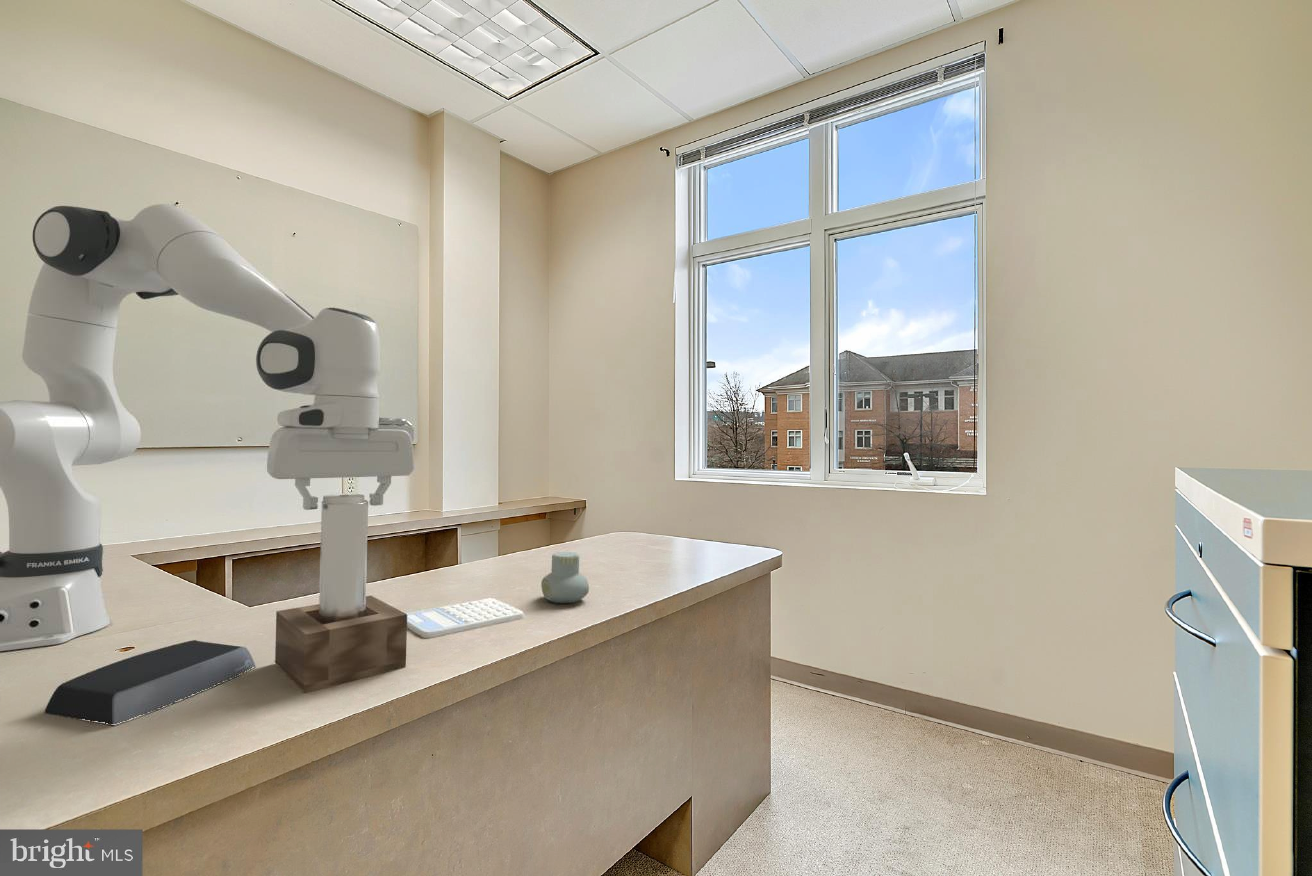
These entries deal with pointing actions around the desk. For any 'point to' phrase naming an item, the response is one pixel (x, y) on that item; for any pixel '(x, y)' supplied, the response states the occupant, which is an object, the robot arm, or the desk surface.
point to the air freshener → (565, 579)
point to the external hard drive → (148, 681)
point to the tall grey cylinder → (343, 557)
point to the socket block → (339, 645)
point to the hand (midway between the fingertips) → (344, 507)
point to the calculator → (461, 617)
